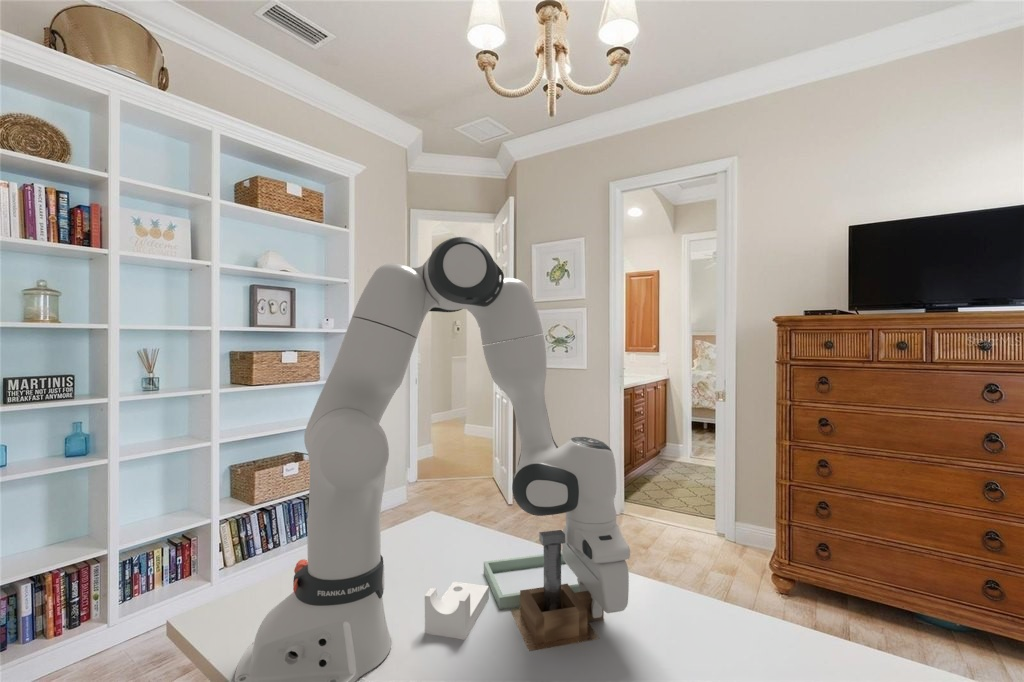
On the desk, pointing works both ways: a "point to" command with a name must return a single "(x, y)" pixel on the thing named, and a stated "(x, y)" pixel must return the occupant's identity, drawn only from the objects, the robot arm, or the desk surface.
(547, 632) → the walnut collar
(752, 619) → the desk surface
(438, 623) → the bracket
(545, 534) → the post stand
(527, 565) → the sage tray
